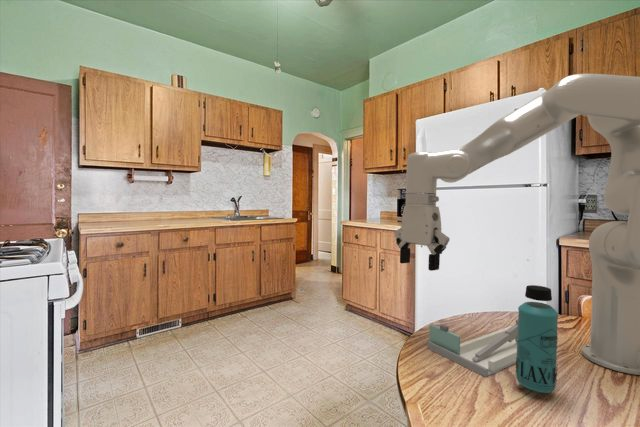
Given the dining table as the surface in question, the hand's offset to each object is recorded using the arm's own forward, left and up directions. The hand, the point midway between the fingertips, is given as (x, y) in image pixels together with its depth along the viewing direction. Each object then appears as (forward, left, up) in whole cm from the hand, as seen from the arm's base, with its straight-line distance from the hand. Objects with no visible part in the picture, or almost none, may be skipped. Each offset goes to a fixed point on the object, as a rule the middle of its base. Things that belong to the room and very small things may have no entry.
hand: (418, 266), depth 82 cm
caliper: (-16, -10, -19) cm, 27 cm away
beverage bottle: (-28, -2, -19) cm, 34 cm away
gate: (-9, +1, -19) cm, 21 cm away
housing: (-13, -11, -19) cm, 25 cm away
